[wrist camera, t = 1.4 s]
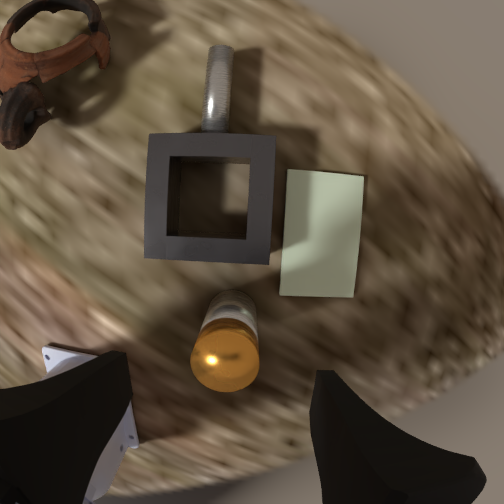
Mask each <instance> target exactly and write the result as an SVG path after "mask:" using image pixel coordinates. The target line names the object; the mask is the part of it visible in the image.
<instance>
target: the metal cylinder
mask: <svg viewBox="0 0 504 504" xmlns="http://www.w3.org/2000/svg"><path fill="white" fill-rule="evenodd" d="M190 363H191V368H192V371H193V373H194V375H195V377H196V378H197V379H198V380H199V381H200V382H201V383H202V384H203V385H205V386H206V387H208V388H210V389H212V390H215V391H220V392H234V391H238V390H241V389H243V388H245V387H247V386H248V385H249V384H251V383H252V382H253V381H254V379H255V378H256V376H257V374H258V371H259V348H258V330H257V312H256V306H255V304H254V302H253V300H252V299H251V298H250V297H249V296H248V295H247V294H245V293H243V292H241V291H238V290H226V291H223V292H221V293H219V294H218V295H216V296H215V297H214V298H213V300H212V301H211V303H210V306H209V308H208V311H207V314H206V316H205V319H204V322H203V324H202V327H201V330H200V332H199V335H198V338H197V340H196V343H195V346H194V348H193V351H192V354H191V359H190Z"/></svg>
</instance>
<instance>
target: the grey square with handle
mask: <svg viewBox="0 0 504 504" xmlns="http://www.w3.org/2000/svg"><path fill="white" fill-rule="evenodd" d="M233 60H234V49H233V48H232V47H230V46H226V45H215V46H212V47H210V48H209V52H208V60H207V70H206V79H205V89H204V100H203V111H202V123H201V133H158V134H149V143H148V156H147V170H146V189H145V220H144V258H151V259H168V260H186V261H204V262H223V263H242V264H262V265H269V258H270V242H271V226H272V208H273V190H274V171H275V151H276V136H271V135H254V134H230V133H228V126H229V112H230V98H231V85H232V72H233ZM181 162H200V163H234V164H250V179H249V198H248V217H247V234H239V233H218V232H196V231H178V223H179V196H180V176H181Z"/></svg>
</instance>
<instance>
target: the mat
mask: <svg viewBox="0 0 504 504" xmlns="http://www.w3.org/2000/svg"><path fill="white" fill-rule="evenodd" d="M363 185H364V177H363V176H355V175H346V174H337V173H327V172H317V171H306V170H294V169H287V179H286V198H285V215H284V231H283V246H282V261H281V275H280V288H279V295H283V296H313V297H353V294H354V286H355V278H356V270H357V261H358V252H359V241H360V230H361V217H362V203H363Z"/></svg>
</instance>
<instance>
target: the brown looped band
mask: <svg viewBox="0 0 504 504" xmlns="http://www.w3.org/2000/svg"><path fill="white" fill-rule="evenodd" d="M66 9H68V10H74V11H81V12H83V13H85V14H86V15H87V16H88V19H89V23H88V26H89V29H90V31H91V32H92V33H91V35H90V36H89V35H86V34H80V35H79V36H78V37H76V38H75V39H73V40H72V41H70V42H68V43H67V44H65V45H63V46H60V47H58V48H55V49H52V50H48V51H43V52H39V53H28V52H23V51H20V50H18V49H16V48H15V47H14V46H13V45H12V44H11V36H12V34H13V33H16V32H17V31H18V30H19V29H20V28H21V27H22V26H23V25H24V24H25V23H26V22H27V21H29V20H30V19H31V18H32V17H34V16H35V15H36V14H37V13H38V12H40V11H50V12H52V14H53V13H56V12H57V11H60V10H66ZM109 41H110V35H109V32H108V29H107V27H106V25H105V23H104V21H103V20H102V19H101V12H100V10H99V7H98V5H97V4H96V3H95V2H94V1H93V0H33V1H31V2H29V3H28V4H26V5H24V6H23V7H22V8H20V9H19V10H18V11H17V12H16V13H14V14H13V16H12V17H11V18H10V19H9V20H8V22H7V24H6V25H5V27H4V29H3V31H2V33H1V36H0V98H1V100H2V103H1V106H0V143H1V144H2V145H3V146H5V148H6V149H9V150H10V149H11V150H15V149H17V148H20V147H23V146H24V145H25V144H27V143H28V142H29V141H30V140H31V138H32V137H33V135H34V134H35V132H36V130H37V129H38V127H39V126H40V125H42V124H44V123H46V122H47V121H49V120H50V119H51V117H52V116H51V114H50V113H49V112H48V111H47V109H46V107H45V104H44V96H43V94H42V92H41V91H40V89H39V88H38V87H37V86H36V85H35V84H34V83H29V81H30V80H31V79H32V78H34V77H37V76H39V77H40V78H41V81H42V83H45V82H47V81H49V80H51V79H53V78H55V77H57V76H58V75H61V74H63V73H66V72H67V71H69V70H70V69H71V68H73V67H75V66H77V65H79V64H81V63H83V62H84V61H86V60H87V59H89V58H90V57H91V56H92V55H94V54H95V56H96V57H97V58H98V63H99V68H100V69H105V68H106V66H107V64H108V61H109V59H110V49H111V48H110V46H109Z"/></svg>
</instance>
